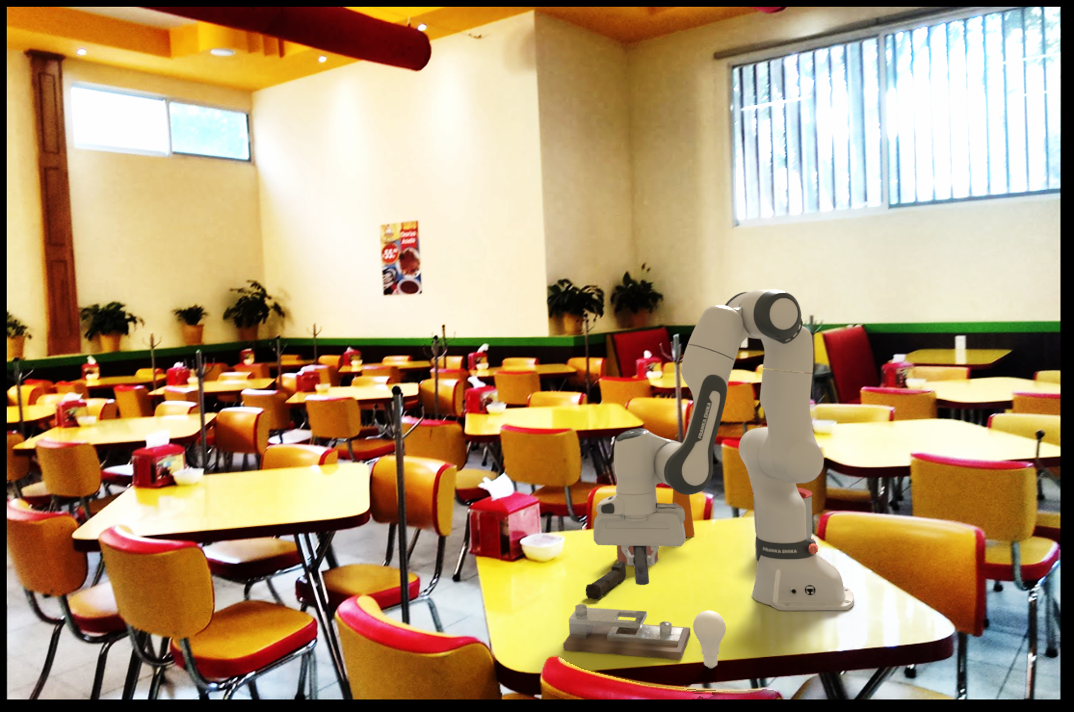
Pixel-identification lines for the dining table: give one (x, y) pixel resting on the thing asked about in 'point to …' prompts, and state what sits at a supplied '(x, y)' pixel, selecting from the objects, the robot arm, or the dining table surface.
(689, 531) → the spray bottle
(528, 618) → the dining table surface
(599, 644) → the walnut board
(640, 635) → the metal clamp fixture
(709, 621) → the lightbulb
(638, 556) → the steel pin
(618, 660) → the dining table surface
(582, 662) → the dining table surface
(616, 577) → the hand tool
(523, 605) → the dining table surface
